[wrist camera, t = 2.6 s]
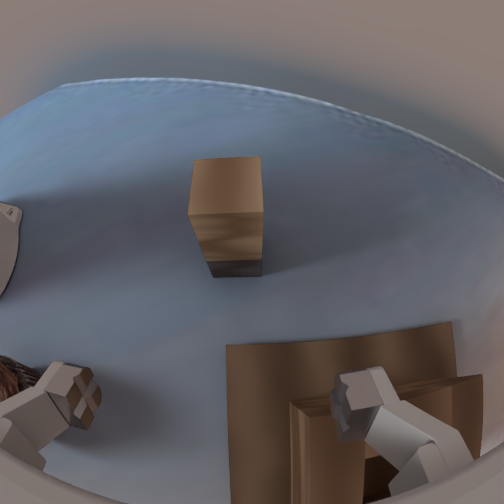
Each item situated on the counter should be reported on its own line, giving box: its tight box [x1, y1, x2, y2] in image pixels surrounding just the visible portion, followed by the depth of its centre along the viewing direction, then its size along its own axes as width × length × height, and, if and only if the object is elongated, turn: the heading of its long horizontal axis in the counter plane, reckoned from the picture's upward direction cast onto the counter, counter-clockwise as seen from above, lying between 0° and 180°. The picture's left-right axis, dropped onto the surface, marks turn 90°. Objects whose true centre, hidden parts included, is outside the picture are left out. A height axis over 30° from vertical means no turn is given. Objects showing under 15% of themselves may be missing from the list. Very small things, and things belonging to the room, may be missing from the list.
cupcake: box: [0, 355, 42, 402], centre depth 16 cm, size 10×10×10 cm
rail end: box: [188, 157, 264, 278], centre depth 22 cm, size 4×4×11 cm
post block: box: [226, 322, 483, 504], centre depth 14 cm, size 22×22×10 cm
